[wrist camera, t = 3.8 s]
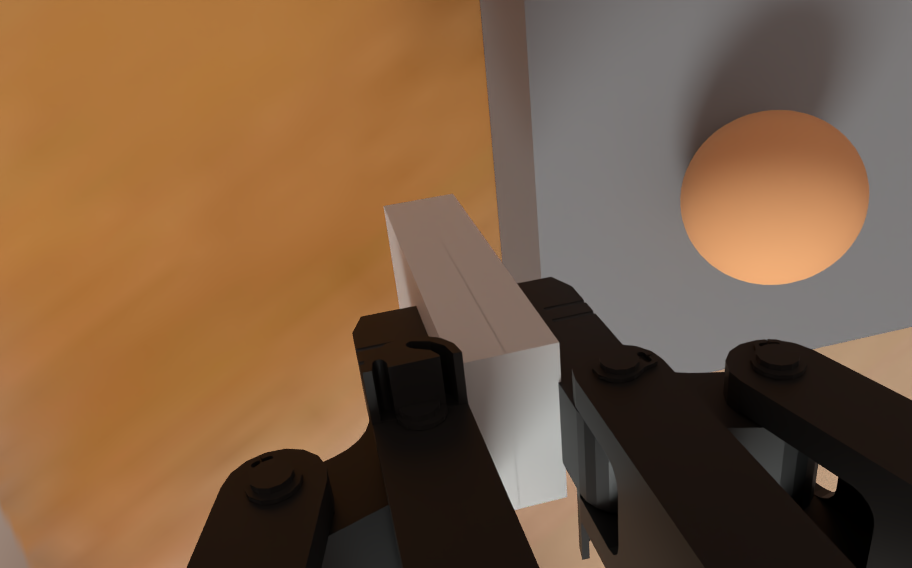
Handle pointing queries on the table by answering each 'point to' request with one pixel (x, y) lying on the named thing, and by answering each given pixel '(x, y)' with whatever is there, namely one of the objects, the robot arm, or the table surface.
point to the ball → (774, 197)
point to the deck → (672, 148)
